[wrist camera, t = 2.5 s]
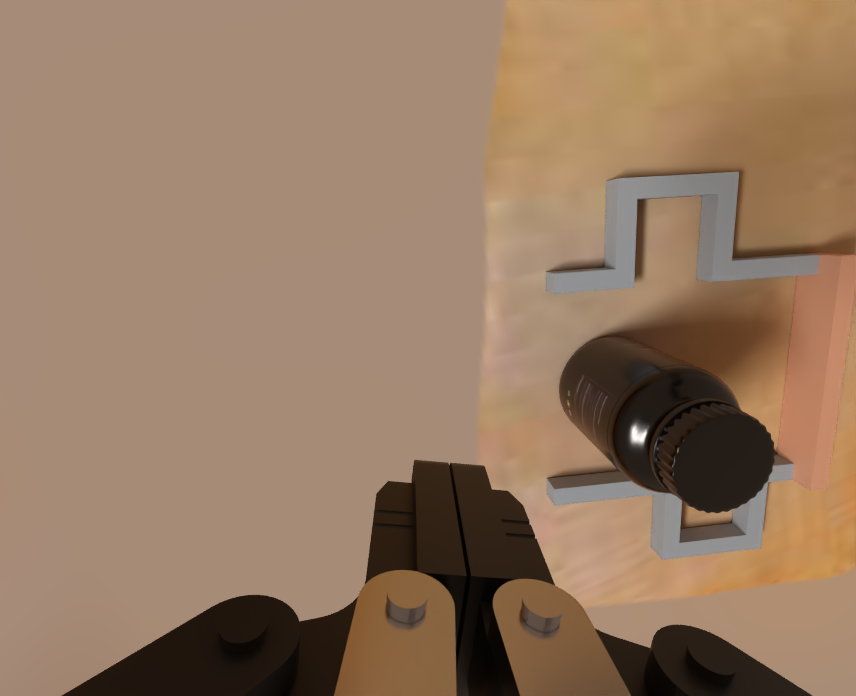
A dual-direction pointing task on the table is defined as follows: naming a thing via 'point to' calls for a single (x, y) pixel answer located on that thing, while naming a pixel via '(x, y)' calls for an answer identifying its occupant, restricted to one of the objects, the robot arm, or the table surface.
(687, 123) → the table surface
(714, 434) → the supplement bottle
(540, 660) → the robot arm
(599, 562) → the table surface
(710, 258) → the grey zigzag frame
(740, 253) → the table surface
